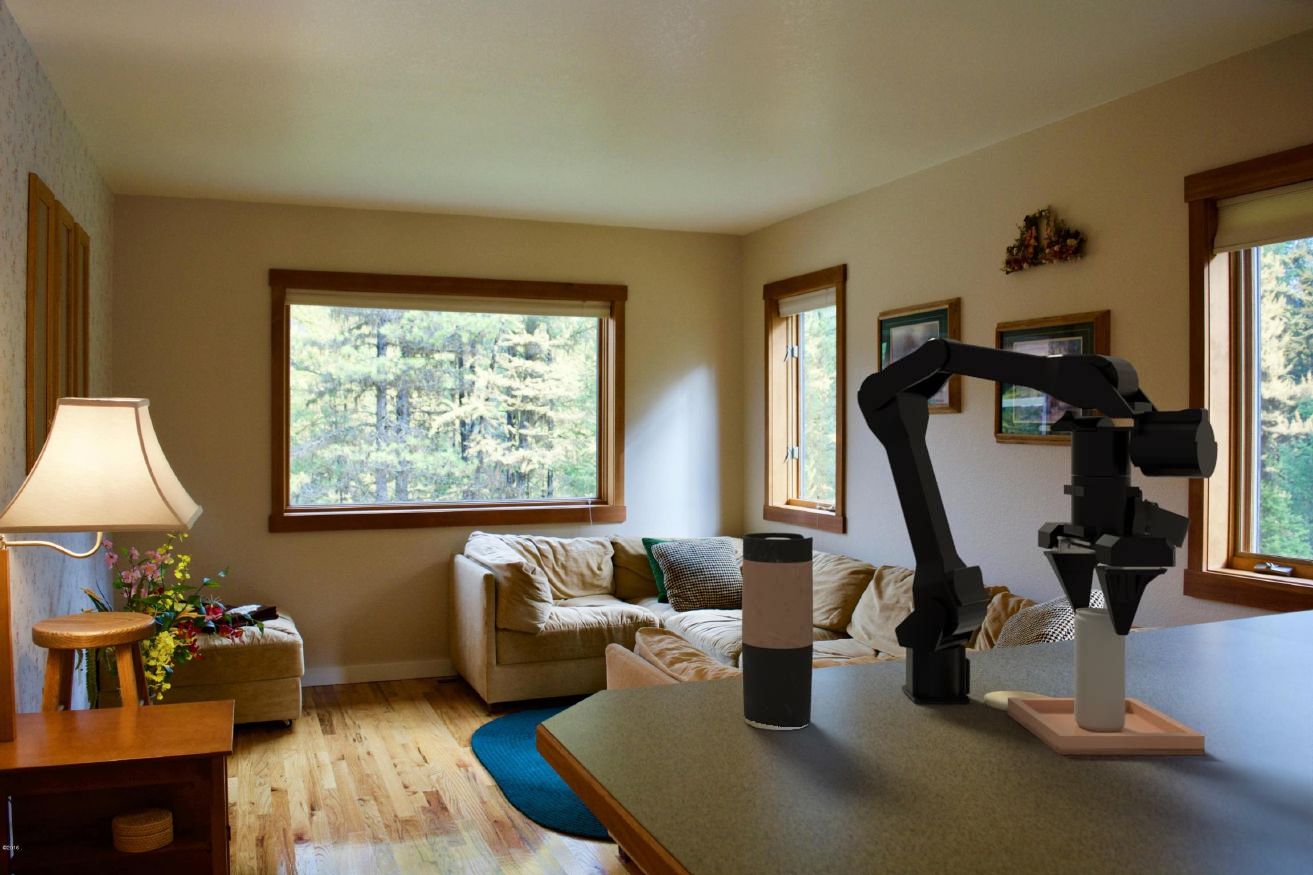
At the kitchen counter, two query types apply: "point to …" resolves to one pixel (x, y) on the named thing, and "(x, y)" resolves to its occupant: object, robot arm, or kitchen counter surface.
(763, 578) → the travel mug
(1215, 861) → the kitchen counter surface
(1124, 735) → the tray
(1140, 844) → the kitchen counter surface
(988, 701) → the cork coaster
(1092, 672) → the beverage can
